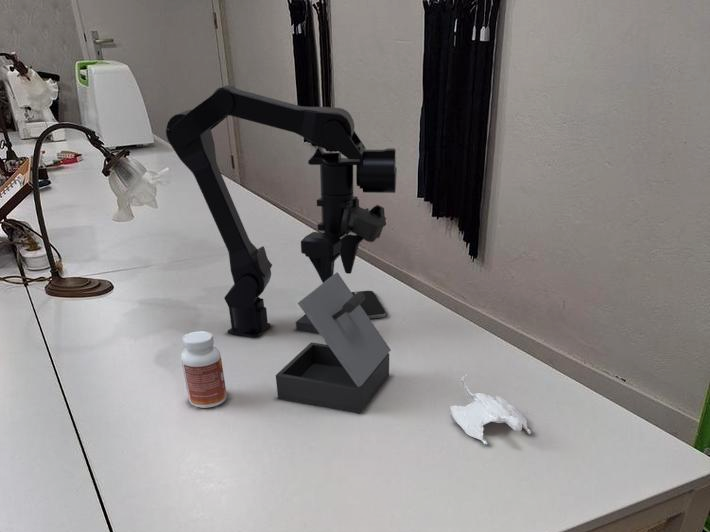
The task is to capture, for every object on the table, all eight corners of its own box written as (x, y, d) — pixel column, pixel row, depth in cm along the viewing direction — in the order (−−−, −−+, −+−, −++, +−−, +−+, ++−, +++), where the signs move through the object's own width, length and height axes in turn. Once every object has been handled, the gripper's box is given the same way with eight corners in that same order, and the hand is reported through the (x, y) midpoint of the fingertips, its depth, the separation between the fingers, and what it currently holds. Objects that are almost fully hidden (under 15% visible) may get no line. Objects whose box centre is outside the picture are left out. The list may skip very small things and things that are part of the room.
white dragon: (429, 399, 105) (430, 376, 103) (484, 387, 108) (486, 365, 106) (486, 456, 92) (489, 430, 89) (548, 440, 94) (552, 416, 92)
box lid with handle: (297, 303, 96) (320, 286, 93) (333, 274, 106) (355, 257, 103) (358, 387, 100) (382, 373, 97) (387, 352, 110) (410, 338, 107)
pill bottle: (233, 402, 107) (224, 338, 100) (198, 413, 104) (186, 348, 97) (217, 387, 111) (208, 325, 104) (183, 398, 108) (171, 335, 102)
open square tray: (277, 398, 107) (275, 375, 105) (312, 364, 117) (311, 342, 115) (360, 413, 102) (360, 389, 100) (389, 376, 112) (389, 353, 110)
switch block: (296, 330, 130) (294, 313, 128) (312, 315, 136) (311, 299, 134) (342, 336, 127) (341, 319, 125) (357, 321, 133) (357, 304, 131)
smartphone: (372, 289, 145) (387, 313, 133) (372, 293, 146) (387, 317, 134) (338, 292, 144) (350, 317, 132) (339, 296, 145) (351, 320, 133)
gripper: (359, 208, 104) (359, 303, 113) (398, 184, 118) (395, 270, 127) (297, 202, 108) (302, 294, 117) (342, 180, 122) (343, 264, 131)
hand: (338, 280), depth 123 cm, fingers open, 9 cm apart
